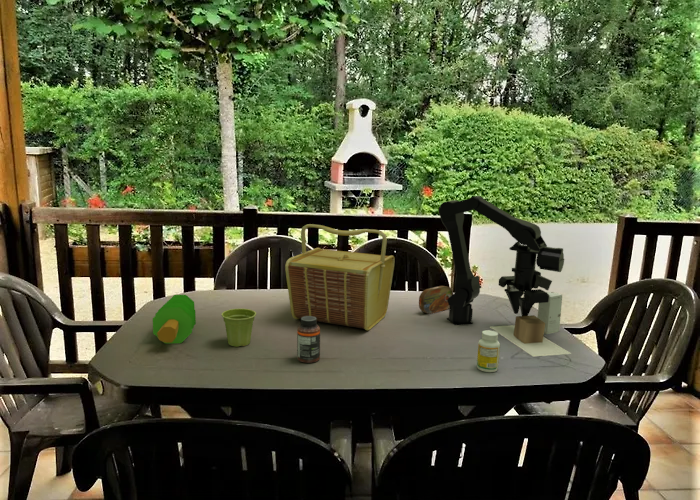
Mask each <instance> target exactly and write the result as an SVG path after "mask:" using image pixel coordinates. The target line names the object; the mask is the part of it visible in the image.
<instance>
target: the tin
mask: <svg viewBox="0 0 700 500" xmlns="http://www.w3.org/2000/svg"><path fill="white" fill-rule="evenodd" d="M453 294H454V293H453V290H452V288H451V287H449V286H445V285H439V286H434V287H430V288H426V289H424V290H422V291H421V293H420V295H419V297H418V307H419V309H420V311H422V312H423V313H426V314H428V315H432V314H436V313H440V312H443V311H444V312H445V311H447V310H449V308H450V305H449V304H448V300H447V299H448V298H449V297H450V296H452V295H453Z"/></svg>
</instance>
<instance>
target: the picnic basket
mask: <svg viewBox="0 0 700 500" xmlns="http://www.w3.org/2000/svg"><path fill="white" fill-rule="evenodd" d="M308 228H315V229H321V230H323V231H325V232H327V233H330V234H333V235H337V236H342V237H343V236H345V237H346V236H347V237H348V236H359V235H362V234H365V233H370V234H371V233H372V234H379V235H380V236H381V237H382V242H381V250H380V251H381V252H380V254H374V253H366V252H365V253H363V252H355V251H345V250H344V251H343V250H336V249H335V250H334V249H327V248H320V247H316V248H312V249H311V250H308V251H307V244H306V230H307V229H308ZM300 238H301V239H300V240H301V253H300V254H297V255H295V256H291V257H289V258H288V259H287V260H286V262H285V266H284V268H285V276H286V283H287V284H286V285H287V292H288V299H289V300H288V301H289V305H290V306H289V307H290V313H291V316H292V318H293V319H295V320H299V319H300V320H301V318H302V317H304V316H313V317H316V319H317V323H318V322H319V323H325V324H332V325H338V326H339V325H340V326H344V327H351V328H358V329H363V330H365V331H371V329H372V328H374V327H375V326H376V325H377V324H378V323H379V322H381V321H382V320H383V319H384V318H385V316H386V315H387V311H388V309H389V301H390V295H391V287H392V283H393V276H394V270H395V259H396V258H395V256H394V255H392V254H391V255H386V251H387V242H388V239H387V235H386V233H384V232H383V231H382V230H378V229H369V228H363V229H353V230H341V229H335V228H332V227H329V226H325V225H323V224H322V225H321V224H314V223H312V224H311V223H309V224H305V225H304V226H302V227H301V231H300Z"/></svg>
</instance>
